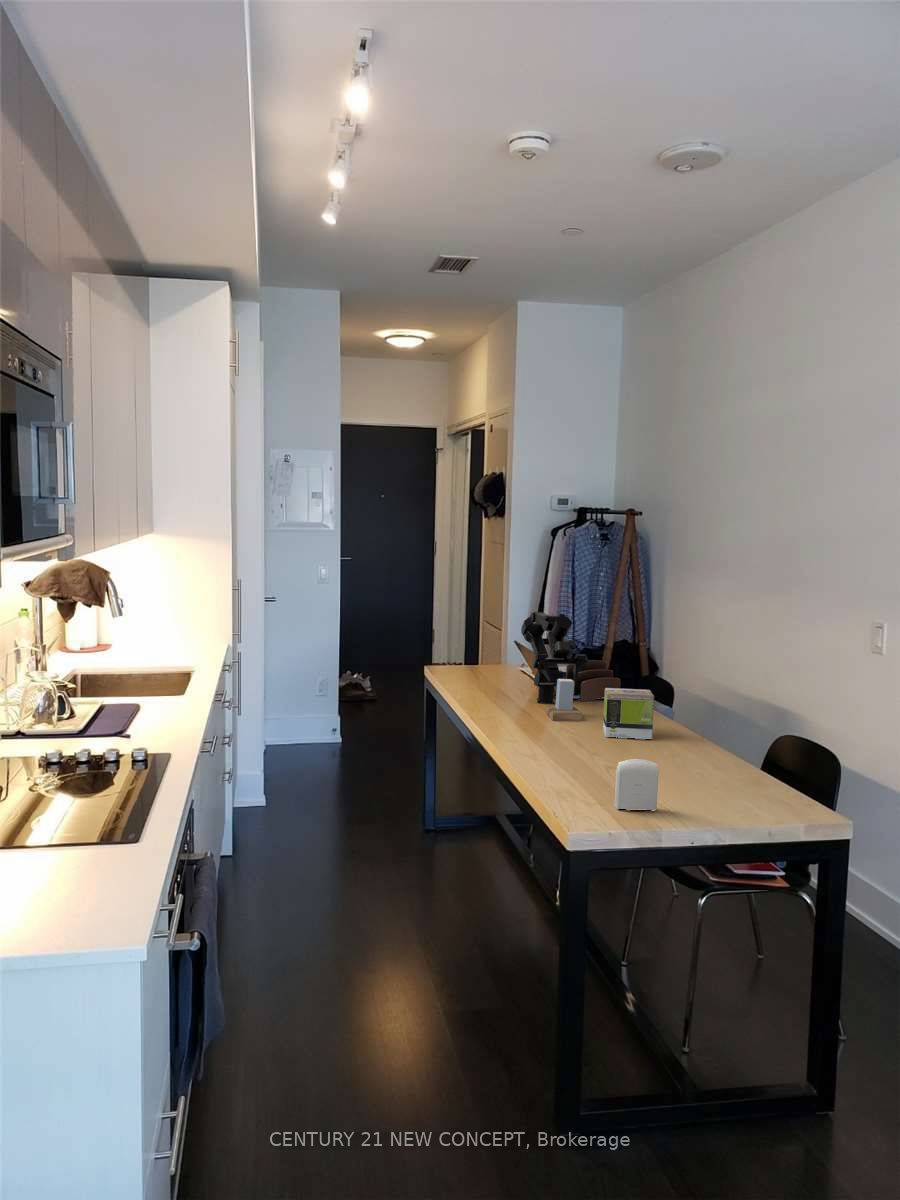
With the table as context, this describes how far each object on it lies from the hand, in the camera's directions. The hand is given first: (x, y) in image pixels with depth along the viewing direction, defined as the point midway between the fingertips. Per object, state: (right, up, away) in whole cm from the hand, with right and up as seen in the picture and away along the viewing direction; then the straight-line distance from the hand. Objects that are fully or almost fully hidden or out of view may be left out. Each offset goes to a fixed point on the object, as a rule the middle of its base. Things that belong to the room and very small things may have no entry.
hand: (563, 681), depth 310 cm
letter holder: (+16, -10, +34) cm, 39 cm away
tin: (0, -9, -2) cm, 10 cm away
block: (0, -13, -2) cm, 13 cm away
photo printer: (+6, -23, -94) cm, 97 cm away
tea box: (+18, -16, -23) cm, 33 cm away
